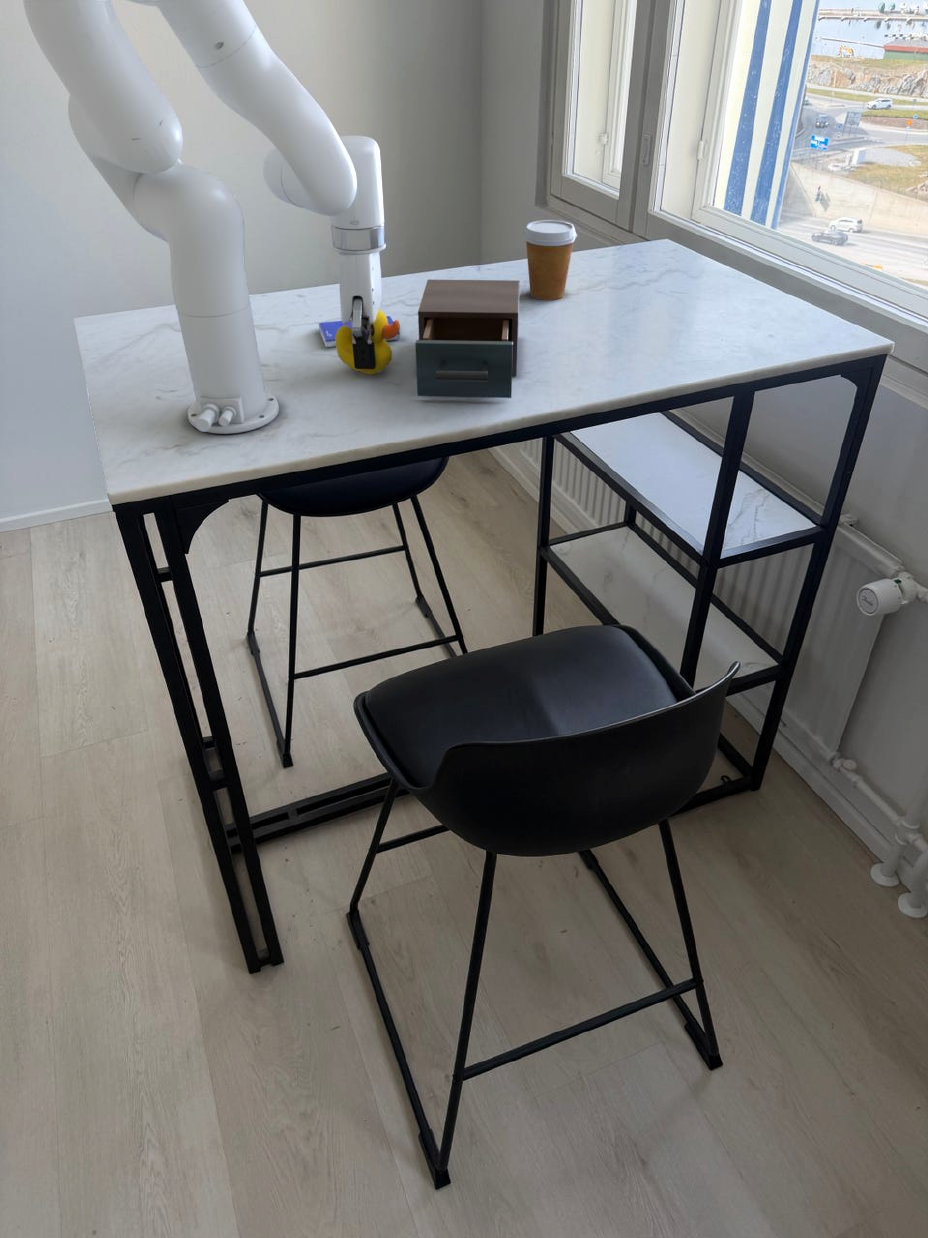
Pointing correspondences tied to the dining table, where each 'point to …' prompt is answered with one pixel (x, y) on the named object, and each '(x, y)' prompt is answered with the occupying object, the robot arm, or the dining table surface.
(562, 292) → the disposable coffee cup
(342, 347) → the duckling
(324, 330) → the hard drive
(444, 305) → the cabinet
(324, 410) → the dining table surface
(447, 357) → the drawer
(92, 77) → the robot arm
